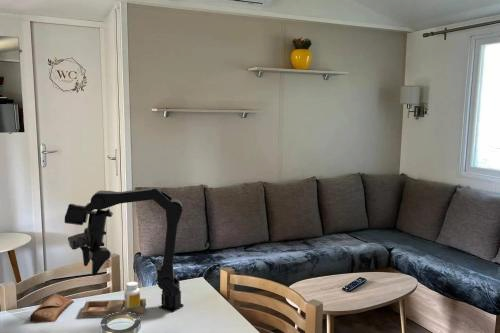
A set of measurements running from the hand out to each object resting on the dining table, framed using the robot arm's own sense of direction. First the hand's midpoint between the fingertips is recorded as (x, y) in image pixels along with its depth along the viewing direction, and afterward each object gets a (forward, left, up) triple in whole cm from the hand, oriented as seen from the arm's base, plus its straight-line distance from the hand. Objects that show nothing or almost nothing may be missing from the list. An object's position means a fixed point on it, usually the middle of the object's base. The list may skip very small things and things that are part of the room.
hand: (89, 270), depth 154 cm
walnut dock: (-7, -5, -15) cm, 17 cm away
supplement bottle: (-11, -9, -15) cm, 21 cm away
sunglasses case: (+11, +6, -16) cm, 20 cm away
